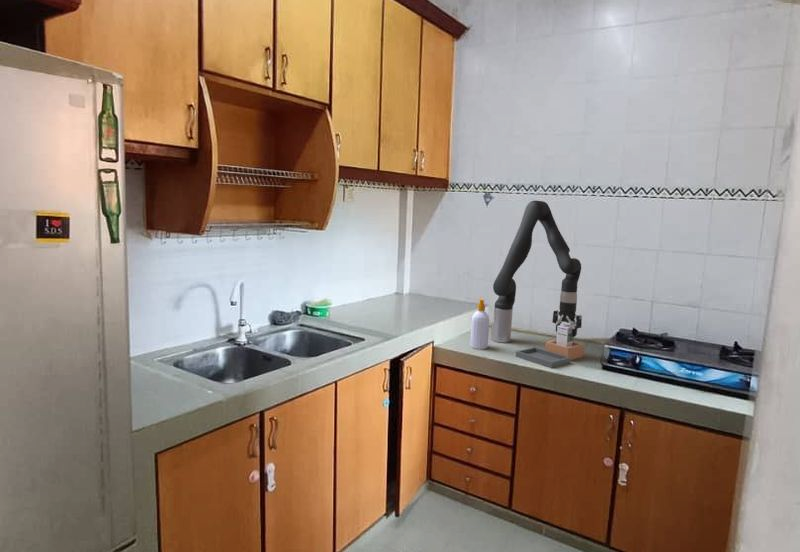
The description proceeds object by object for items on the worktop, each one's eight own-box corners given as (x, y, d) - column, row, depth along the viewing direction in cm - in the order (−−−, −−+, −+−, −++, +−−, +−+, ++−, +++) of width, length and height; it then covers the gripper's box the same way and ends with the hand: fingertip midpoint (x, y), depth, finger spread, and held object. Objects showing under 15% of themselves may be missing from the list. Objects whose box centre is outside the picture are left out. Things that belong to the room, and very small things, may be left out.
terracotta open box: (544, 354, 249) (545, 341, 249) (560, 350, 257) (561, 338, 256) (567, 360, 240) (568, 348, 239) (582, 356, 247) (583, 344, 247)
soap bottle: (487, 344, 263) (489, 298, 259) (488, 349, 253) (491, 301, 250) (469, 343, 263) (472, 297, 260) (470, 348, 254) (473, 300, 251)
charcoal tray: (515, 356, 244) (515, 351, 243) (534, 352, 252) (534, 346, 252) (551, 368, 228) (551, 362, 228) (570, 363, 237) (570, 357, 236)
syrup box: (565, 357, 244) (568, 327, 242) (554, 354, 249) (557, 325, 247) (572, 356, 248) (575, 326, 246) (561, 353, 252) (564, 323, 250)
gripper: (550, 299, 248) (548, 332, 250) (577, 304, 237) (574, 338, 239) (560, 297, 253) (557, 330, 255) (586, 302, 241) (583, 336, 244)
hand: (565, 334), depth 247 cm, fingers open, 8 cm apart
